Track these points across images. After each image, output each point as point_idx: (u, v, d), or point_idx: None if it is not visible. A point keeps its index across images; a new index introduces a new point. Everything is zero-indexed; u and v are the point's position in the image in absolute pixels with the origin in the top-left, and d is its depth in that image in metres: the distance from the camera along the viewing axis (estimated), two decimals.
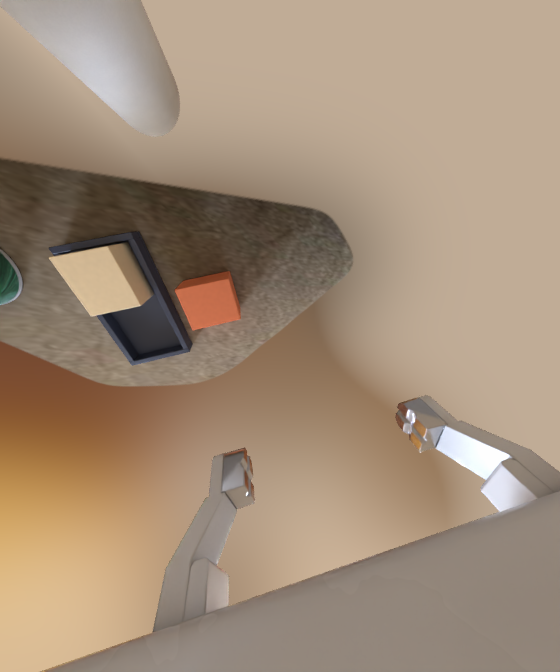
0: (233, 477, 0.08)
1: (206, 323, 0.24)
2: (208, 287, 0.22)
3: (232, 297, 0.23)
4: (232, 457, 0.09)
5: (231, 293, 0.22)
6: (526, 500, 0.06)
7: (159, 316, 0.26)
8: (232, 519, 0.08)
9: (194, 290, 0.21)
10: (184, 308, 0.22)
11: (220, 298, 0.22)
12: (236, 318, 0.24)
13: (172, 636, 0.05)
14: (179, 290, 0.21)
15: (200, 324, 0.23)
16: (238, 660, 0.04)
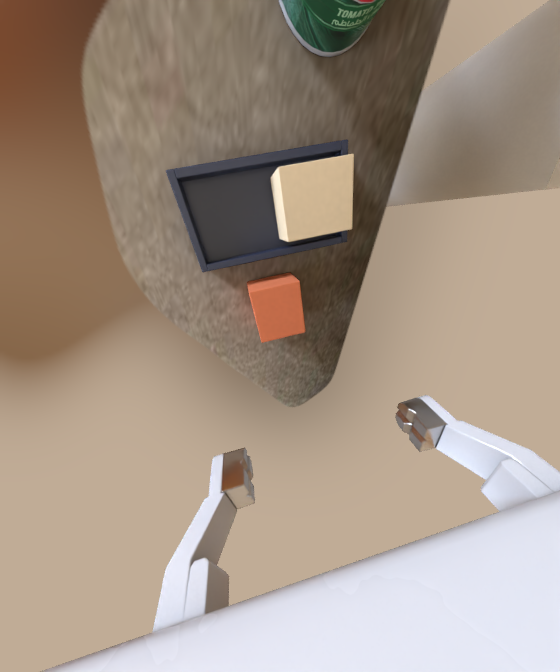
0: (233, 477, 0.08)
1: (257, 308, 0.20)
2: (298, 314, 0.21)
3: (286, 335, 0.22)
4: (232, 457, 0.09)
5: (290, 334, 0.22)
6: (526, 500, 0.06)
7: (250, 236, 0.20)
8: (232, 519, 0.08)
9: (297, 300, 0.20)
10: (278, 287, 0.19)
11: (286, 324, 0.21)
12: (262, 338, 0.22)
13: (172, 636, 0.05)
14: (298, 286, 0.19)
15: (256, 302, 0.19)
16: (238, 660, 0.04)
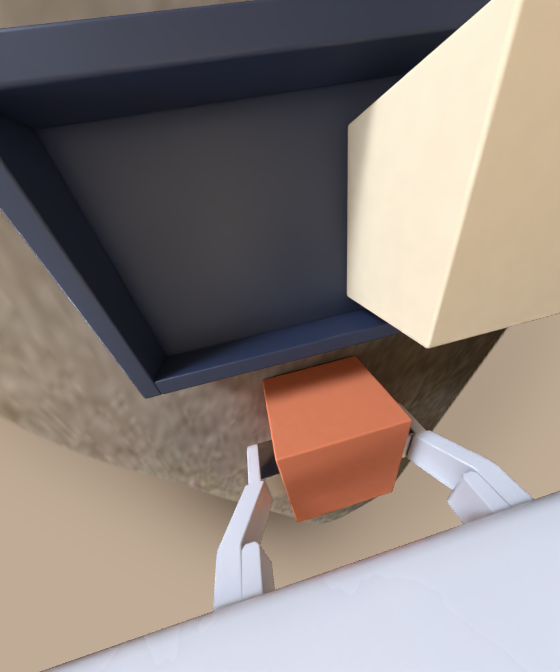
0: (270, 466, 0.08)
1: (295, 481, 0.08)
2: (389, 472, 0.09)
3: (352, 503, 0.10)
4: (267, 447, 0.09)
5: (361, 501, 0.10)
6: (485, 514, 0.06)
7: (274, 294, 0.07)
8: (269, 507, 0.09)
9: (393, 453, 0.08)
10: (354, 440, 0.07)
11: (356, 491, 0.09)
12: (300, 518, 0.09)
13: (172, 636, 0.05)
14: (407, 429, 0.07)
15: (294, 472, 0.07)
16: (238, 660, 0.04)
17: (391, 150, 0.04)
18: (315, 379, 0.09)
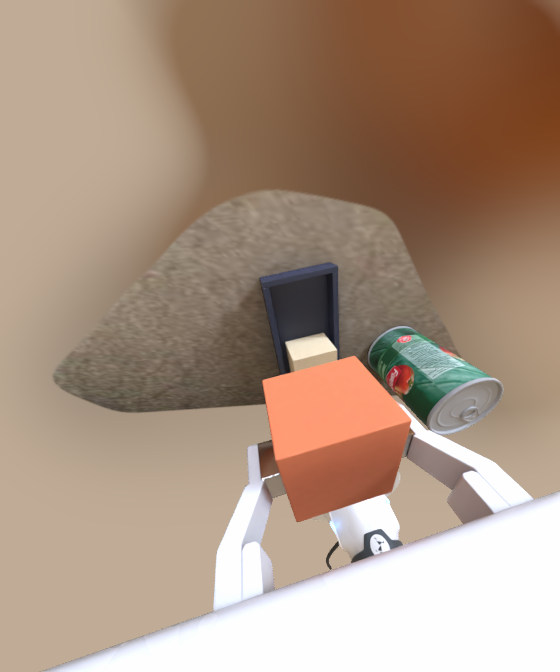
0: (271, 466, 0.08)
1: (295, 481, 0.08)
2: (388, 472, 0.09)
3: (352, 503, 0.10)
4: (267, 447, 0.09)
5: (361, 501, 0.10)
6: (485, 514, 0.06)
7: (287, 319, 0.23)
8: (269, 507, 0.09)
9: (393, 453, 0.08)
10: (354, 440, 0.07)
11: (356, 491, 0.09)
12: (300, 518, 0.09)
13: (172, 636, 0.05)
14: (406, 429, 0.07)
15: (294, 472, 0.07)
16: (238, 660, 0.04)
17: (321, 342, 0.23)
18: (315, 379, 0.09)
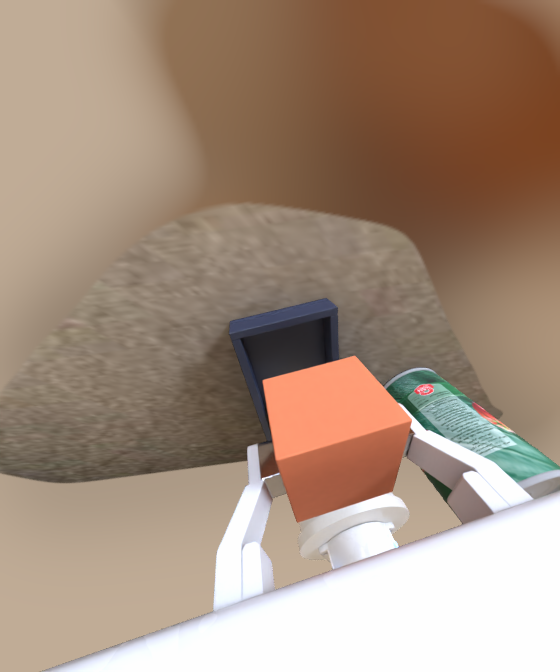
0: (271, 466, 0.08)
1: (295, 481, 0.08)
2: (389, 472, 0.09)
3: (352, 503, 0.10)
4: (267, 447, 0.09)
5: (361, 501, 0.10)
6: (485, 514, 0.06)
7: (271, 370, 0.17)
8: (269, 507, 0.09)
9: (393, 453, 0.08)
10: (354, 440, 0.07)
11: (356, 491, 0.09)
12: (300, 518, 0.09)
13: (172, 636, 0.05)
14: (407, 429, 0.07)
15: (294, 472, 0.07)
16: (238, 660, 0.04)
17: None
18: (315, 379, 0.09)
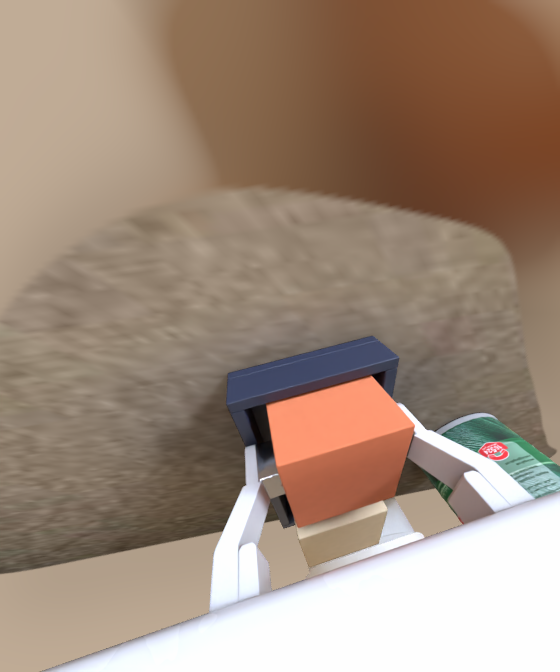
0: (268, 467, 0.08)
1: (296, 487, 0.07)
2: (391, 477, 0.09)
3: (354, 508, 0.10)
4: (264, 448, 0.09)
5: (363, 506, 0.10)
6: (486, 514, 0.06)
7: None
8: (266, 508, 0.09)
9: (396, 458, 0.08)
10: (356, 445, 0.07)
11: (358, 496, 0.09)
12: (301, 523, 0.09)
13: (172, 636, 0.05)
14: (410, 434, 0.07)
15: (295, 478, 0.07)
16: (238, 660, 0.04)
17: None
18: None
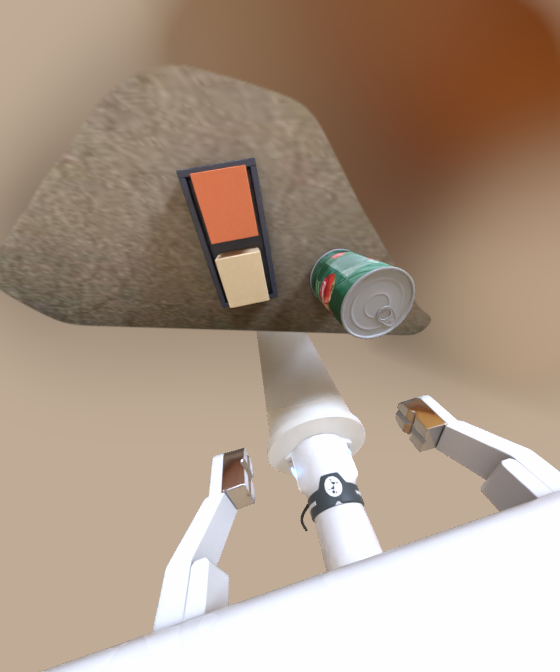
0: (233, 477, 0.08)
1: (201, 197, 0.19)
2: (248, 210, 0.20)
3: (237, 237, 0.21)
4: (232, 457, 0.09)
5: (242, 236, 0.21)
6: (526, 500, 0.06)
7: None
8: (232, 519, 0.08)
9: (245, 191, 0.19)
10: (221, 171, 0.18)
11: (236, 223, 0.20)
12: (212, 239, 0.20)
13: (172, 636, 0.05)
14: (244, 171, 0.18)
15: (199, 188, 0.18)
16: (238, 660, 0.04)
17: (250, 250, 0.23)
18: None
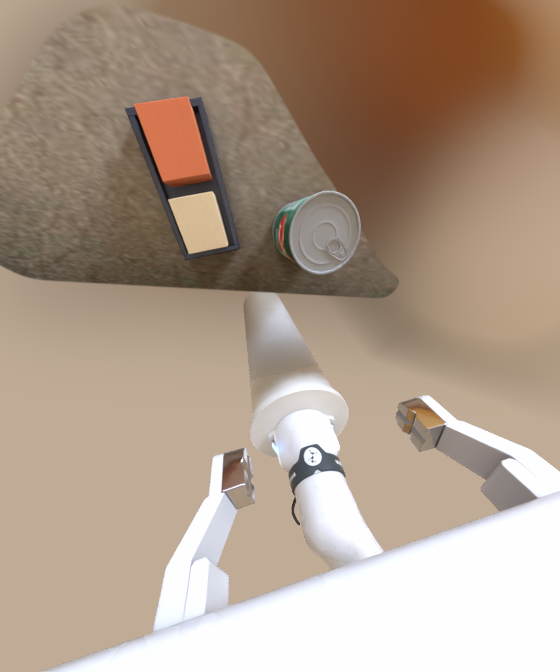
0: (233, 477, 0.08)
1: (148, 129, 0.19)
2: (196, 145, 0.20)
3: (188, 175, 0.21)
4: (232, 457, 0.09)
5: (193, 174, 0.21)
6: (526, 500, 0.06)
7: None
8: (232, 519, 0.08)
9: (190, 125, 0.20)
10: (165, 102, 0.19)
11: (185, 159, 0.21)
12: (162, 176, 0.21)
13: (172, 636, 0.05)
14: (188, 103, 0.19)
15: (145, 120, 0.19)
16: (238, 660, 0.04)
17: None
18: None
